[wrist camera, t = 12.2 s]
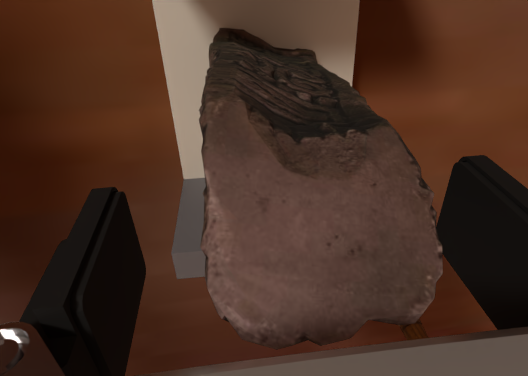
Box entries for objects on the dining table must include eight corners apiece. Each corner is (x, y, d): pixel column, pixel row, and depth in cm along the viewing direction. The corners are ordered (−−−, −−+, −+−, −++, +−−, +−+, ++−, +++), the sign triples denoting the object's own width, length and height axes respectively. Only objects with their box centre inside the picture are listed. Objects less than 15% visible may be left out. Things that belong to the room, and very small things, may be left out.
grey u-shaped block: (137, -123, 20) (74, -173, 12) (359, -131, 21) (453, -183, 12) (190, 192, 31) (178, 285, 22) (335, 181, 31) (376, 266, 23)
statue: (209, 121, 26) (183, 457, 9) (205, 5, 22) (145, 207, 5) (309, 122, 26) (462, 434, 9) (322, 9, 22) (617, 198, 6)
